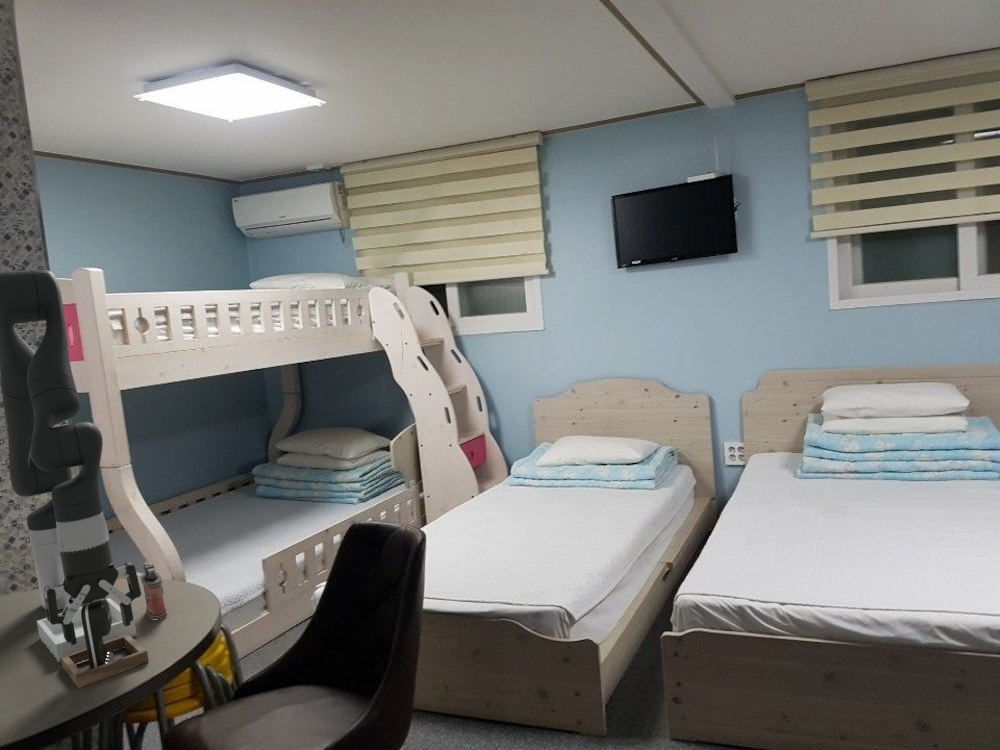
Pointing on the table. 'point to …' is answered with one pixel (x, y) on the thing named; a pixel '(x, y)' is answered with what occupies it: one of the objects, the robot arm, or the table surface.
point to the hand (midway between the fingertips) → (100, 633)
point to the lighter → (153, 592)
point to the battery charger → (97, 631)
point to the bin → (80, 632)
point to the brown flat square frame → (107, 669)
